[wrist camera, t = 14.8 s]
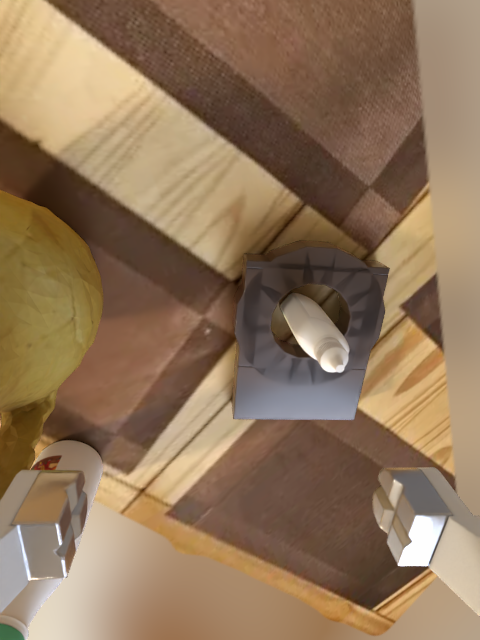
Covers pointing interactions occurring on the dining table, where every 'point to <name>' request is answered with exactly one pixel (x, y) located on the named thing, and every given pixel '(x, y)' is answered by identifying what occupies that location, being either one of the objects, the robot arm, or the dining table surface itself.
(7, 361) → the pitcher
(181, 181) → the dining table surface
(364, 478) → the dining table surface
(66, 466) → the milk bottle
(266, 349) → the grey ring plate
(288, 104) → the dining table surface
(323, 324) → the eye dropper bottle
